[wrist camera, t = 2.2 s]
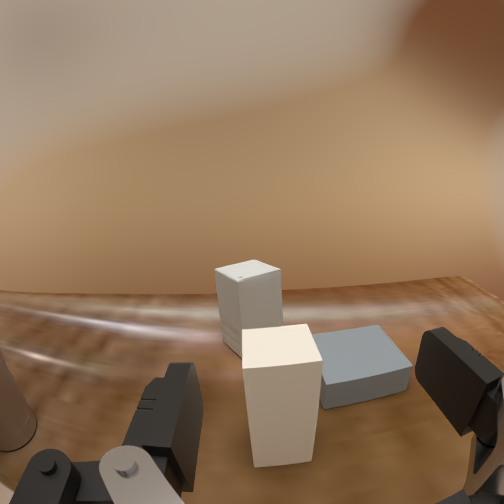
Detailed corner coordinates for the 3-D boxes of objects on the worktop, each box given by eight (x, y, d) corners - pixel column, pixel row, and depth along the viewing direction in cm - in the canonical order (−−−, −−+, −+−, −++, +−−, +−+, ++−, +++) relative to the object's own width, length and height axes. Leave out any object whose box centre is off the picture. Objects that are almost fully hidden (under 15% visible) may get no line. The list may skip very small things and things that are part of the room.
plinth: (323, 409, 29) (326, 384, 28) (305, 358, 39) (306, 334, 38) (405, 390, 29) (413, 365, 28) (374, 346, 40) (377, 324, 39)
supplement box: (285, 345, 43) (283, 268, 40) (243, 362, 40) (235, 280, 37) (259, 327, 49) (255, 258, 46) (221, 340, 46) (212, 267, 43)
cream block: (254, 467, 22) (242, 368, 18) (252, 428, 27) (241, 329, 24) (311, 461, 22) (322, 360, 18) (302, 423, 27) (306, 323, 24)
